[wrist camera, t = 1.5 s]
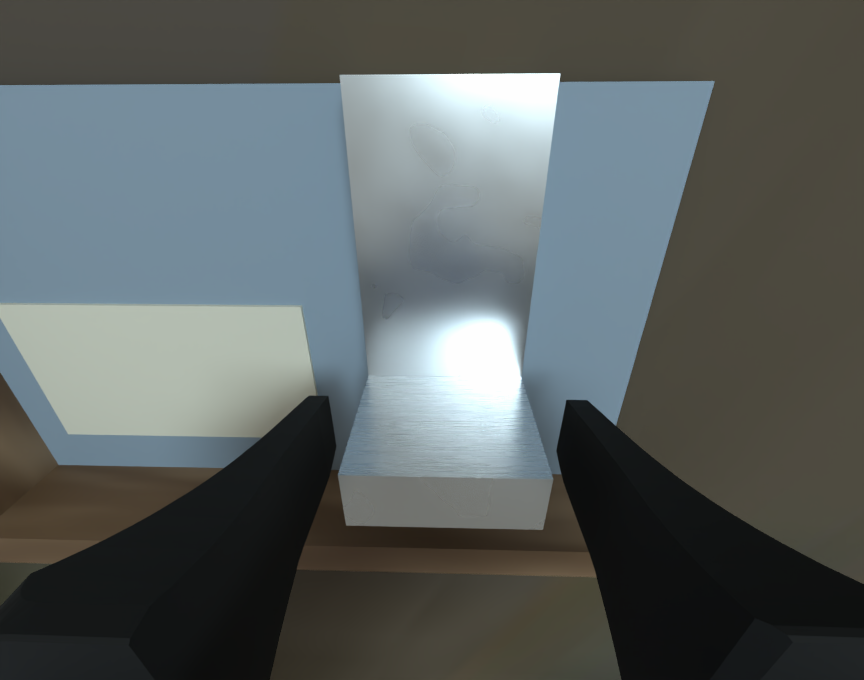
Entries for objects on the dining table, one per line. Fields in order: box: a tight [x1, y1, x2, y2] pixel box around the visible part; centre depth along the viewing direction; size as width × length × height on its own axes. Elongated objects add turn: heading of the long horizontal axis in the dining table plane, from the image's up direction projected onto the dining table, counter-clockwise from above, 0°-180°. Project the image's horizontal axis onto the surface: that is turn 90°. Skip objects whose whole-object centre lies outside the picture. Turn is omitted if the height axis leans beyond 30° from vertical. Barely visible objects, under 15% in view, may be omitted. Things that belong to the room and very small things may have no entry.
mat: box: [0, 81, 715, 474], centre depth 14 cm, size 16×26×1 cm, turn 90°
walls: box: [0, 373, 597, 577], centre depth 13 cm, size 16×26×4 cm, turn 90°
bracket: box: [338, 74, 560, 530], centre depth 10 cm, size 10×5×6 cm, turn 0°
